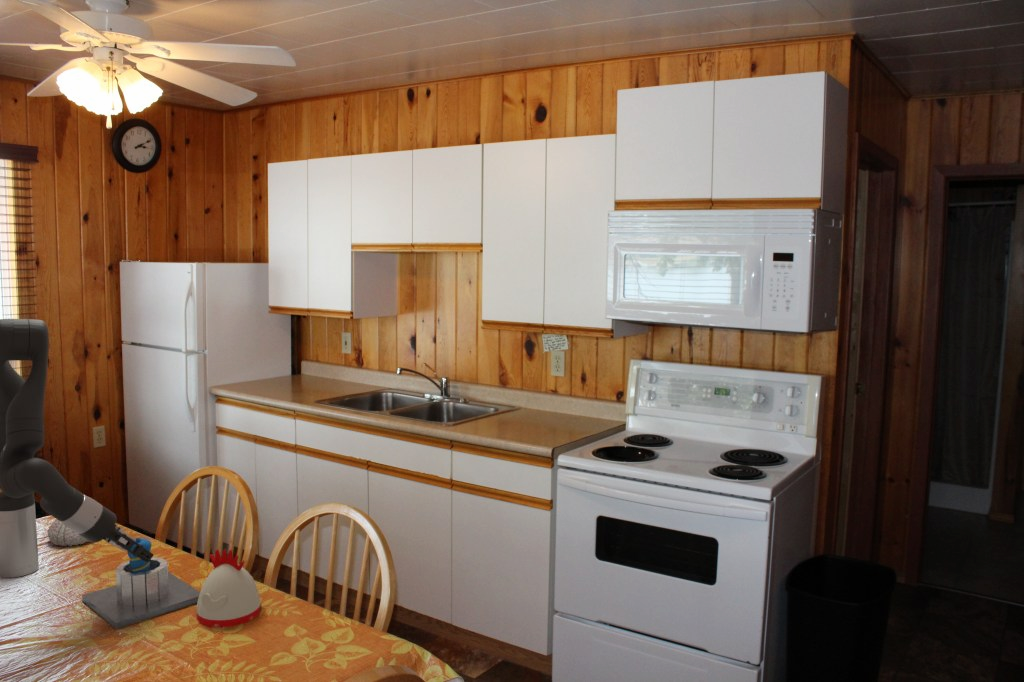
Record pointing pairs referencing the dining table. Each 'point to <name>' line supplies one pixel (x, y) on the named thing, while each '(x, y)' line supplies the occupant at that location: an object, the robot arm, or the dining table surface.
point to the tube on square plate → (141, 595)
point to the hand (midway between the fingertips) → (142, 553)
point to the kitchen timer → (227, 594)
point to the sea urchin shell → (64, 535)
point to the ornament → (136, 562)
